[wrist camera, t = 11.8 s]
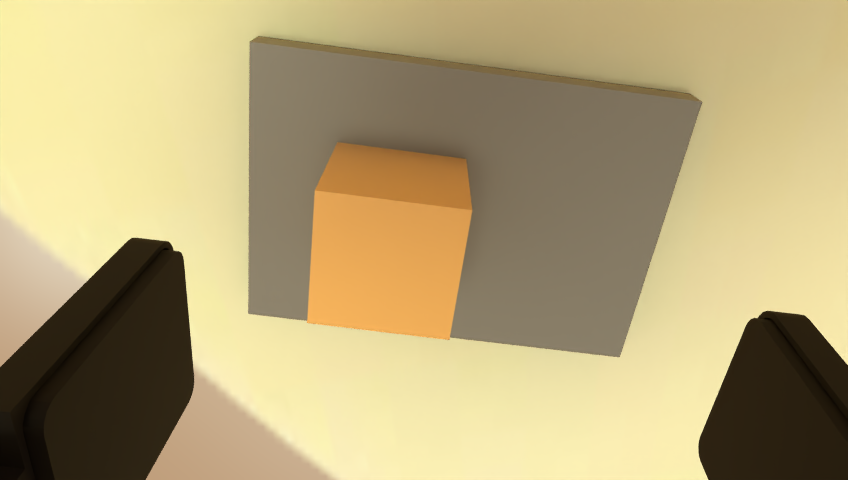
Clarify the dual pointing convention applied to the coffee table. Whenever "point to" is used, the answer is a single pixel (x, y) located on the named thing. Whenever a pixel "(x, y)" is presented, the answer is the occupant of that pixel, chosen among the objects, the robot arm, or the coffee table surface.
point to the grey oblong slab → (475, 182)
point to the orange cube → (389, 241)
